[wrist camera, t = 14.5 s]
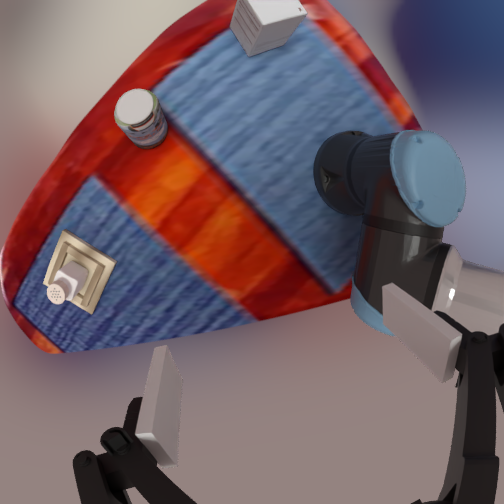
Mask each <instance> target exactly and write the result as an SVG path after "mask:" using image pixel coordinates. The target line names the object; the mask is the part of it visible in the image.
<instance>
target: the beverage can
mask: <svg viewBox="0 0 504 504" xmlns="http://www.w3.org/2000/svg"><path fill="white" fill-rule="evenodd" d="M114 116H115V121H116V123H117V124H118V126H119V127H120V128H121V129H122V130H123V131H124V133H125V134H126V135H127V136H128V137H129V138H130V139H131V141H132V142H133V143H134V144H135V145H136V146H138V147H140V148H142V149H151V148H154V147H156V146H158V145H159V144H161V143H162V142H163V141H164V139H165V138H166V135H167V132H168V126H167V123H166V120H165V117H164V114H163V112H162V109H161V106H160V104H159V101H158V99H157V97H156V96H155V95H154V94H153V93H152V92H150V91H148V90H144V89H133V90H130V91H128V92H126V93H125V94H123V95H122V96H121V97H120V99H119V100H118V102H117V105H116V108H115V112H114Z"/></svg>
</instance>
